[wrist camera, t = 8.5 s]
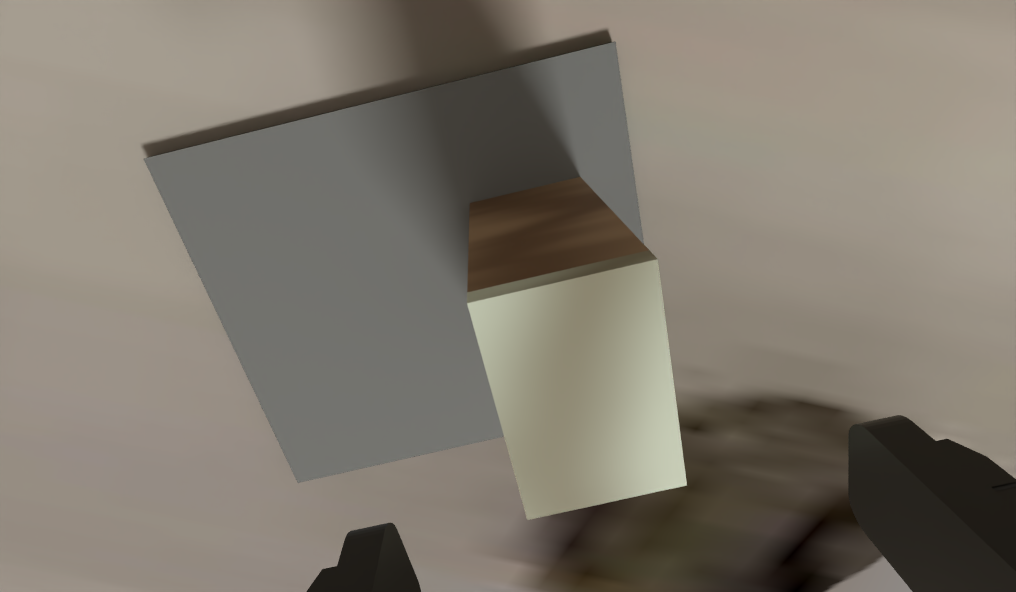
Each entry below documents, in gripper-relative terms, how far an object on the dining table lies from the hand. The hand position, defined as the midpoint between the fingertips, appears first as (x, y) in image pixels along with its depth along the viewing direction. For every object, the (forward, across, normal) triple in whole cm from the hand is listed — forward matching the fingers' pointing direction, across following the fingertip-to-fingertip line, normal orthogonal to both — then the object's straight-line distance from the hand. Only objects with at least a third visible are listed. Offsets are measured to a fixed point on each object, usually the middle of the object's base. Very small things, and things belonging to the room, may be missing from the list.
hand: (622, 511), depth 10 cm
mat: (+12, +4, 0) cm, 13 cm away
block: (+12, 0, 0) cm, 12 cm away
